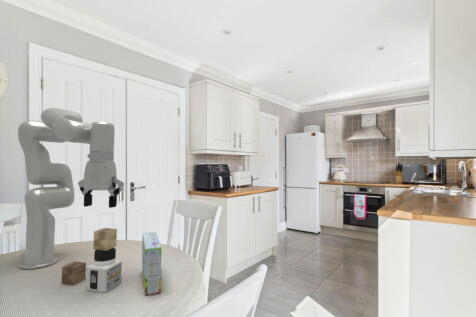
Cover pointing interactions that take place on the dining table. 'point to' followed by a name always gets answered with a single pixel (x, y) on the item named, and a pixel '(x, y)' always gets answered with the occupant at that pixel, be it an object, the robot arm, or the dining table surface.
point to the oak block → (105, 239)
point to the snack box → (151, 263)
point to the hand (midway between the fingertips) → (100, 206)
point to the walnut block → (73, 273)
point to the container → (104, 271)
